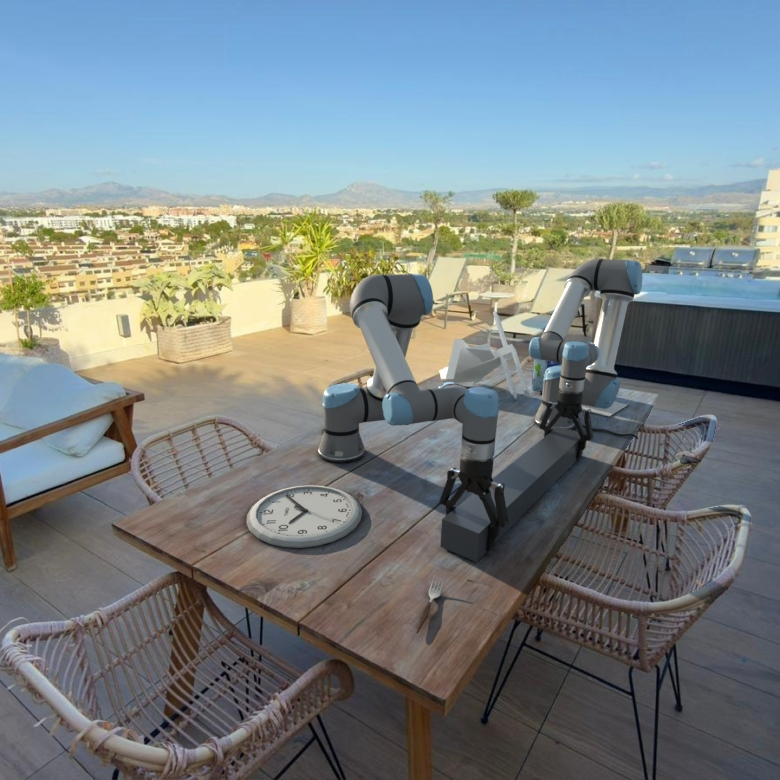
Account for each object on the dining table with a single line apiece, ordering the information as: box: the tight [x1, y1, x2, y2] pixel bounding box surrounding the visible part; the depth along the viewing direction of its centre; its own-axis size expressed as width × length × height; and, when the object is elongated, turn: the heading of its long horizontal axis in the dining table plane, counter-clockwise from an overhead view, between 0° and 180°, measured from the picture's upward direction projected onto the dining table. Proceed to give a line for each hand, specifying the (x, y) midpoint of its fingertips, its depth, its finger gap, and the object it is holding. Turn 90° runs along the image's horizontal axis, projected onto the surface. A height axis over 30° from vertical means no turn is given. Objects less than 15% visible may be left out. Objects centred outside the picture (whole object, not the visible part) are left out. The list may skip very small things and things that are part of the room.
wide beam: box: [440, 427, 584, 563], centre depth 150 cm, size 76×10×8 cm, turn 143°
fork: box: [416, 574, 445, 635], centre depth 104 cm, size 3×16×2 cm, turn 160°
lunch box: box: [531, 358, 562, 393], centre depth 245 cm, size 26×11×21 cm, turn 134°
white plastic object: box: [438, 310, 531, 400], centre depth 245 cm, size 37×45×31 cm
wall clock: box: [246, 484, 363, 549], centre depth 137 cm, size 30×2×30 cm
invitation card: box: [582, 401, 629, 418], centre depth 226 cm, size 21×1×15 cm
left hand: (470, 540), depth 126 cm, fingers open, 10 cm apart
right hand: (562, 453), depth 175 cm, fingers closed on wide beam, 10 cm apart
